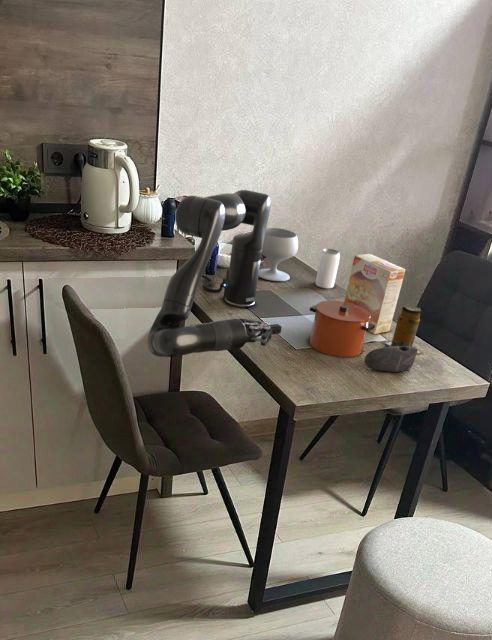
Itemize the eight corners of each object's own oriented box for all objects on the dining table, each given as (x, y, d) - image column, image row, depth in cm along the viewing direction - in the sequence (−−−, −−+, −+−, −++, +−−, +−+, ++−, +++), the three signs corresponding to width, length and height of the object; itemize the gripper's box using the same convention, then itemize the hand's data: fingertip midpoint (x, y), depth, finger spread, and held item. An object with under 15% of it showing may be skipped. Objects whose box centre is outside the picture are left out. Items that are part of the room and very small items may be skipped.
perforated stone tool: (364, 373, 194) (371, 349, 190) (359, 364, 198) (364, 341, 194) (417, 375, 197) (424, 352, 193) (410, 367, 201) (417, 344, 197)
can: (334, 289, 249) (341, 255, 242) (316, 287, 249) (322, 252, 242) (332, 283, 254) (339, 249, 248) (314, 281, 254) (320, 247, 247)
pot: (293, 341, 206) (301, 302, 200) (320, 328, 217) (328, 290, 211) (351, 364, 198) (361, 323, 191) (376, 349, 209) (386, 310, 202)
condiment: (403, 341, 217) (414, 302, 210) (421, 353, 211) (433, 313, 204) (384, 343, 214) (394, 304, 207) (401, 355, 207) (413, 315, 201)
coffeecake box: (340, 316, 228) (353, 254, 217) (355, 313, 232) (370, 252, 221) (374, 334, 218) (390, 271, 208) (390, 331, 222) (406, 268, 211)
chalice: (264, 283, 246) (271, 239, 237) (246, 270, 256) (252, 226, 248) (299, 282, 251) (307, 239, 243) (280, 269, 261) (287, 226, 253)
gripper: (239, 331, 177) (296, 324, 185) (212, 311, 186) (268, 305, 194) (235, 359, 181) (291, 351, 189) (209, 338, 190) (263, 332, 198)
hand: (279, 328), depth 192 cm, fingers closed
